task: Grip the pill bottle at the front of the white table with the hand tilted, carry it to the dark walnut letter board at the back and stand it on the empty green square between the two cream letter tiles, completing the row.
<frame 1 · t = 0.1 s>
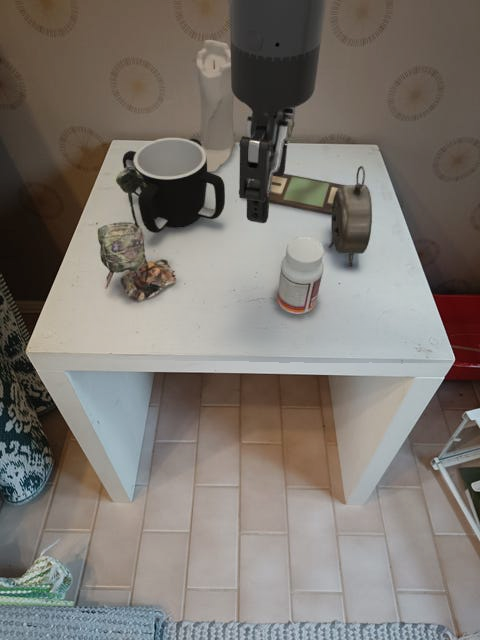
hand: (266, 195, 48), 23 cm above the table, tool pointing down, fingers open, 8 cm apart
candle: (214, 154, 93), on the table
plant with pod: (142, 283, 71), on the table
alarm clock: (340, 249, 76), on the table
pill bottle: (296, 301, 69), on the table
mug: (177, 214, 81), on the table
letter board: (306, 195, 85), on the table
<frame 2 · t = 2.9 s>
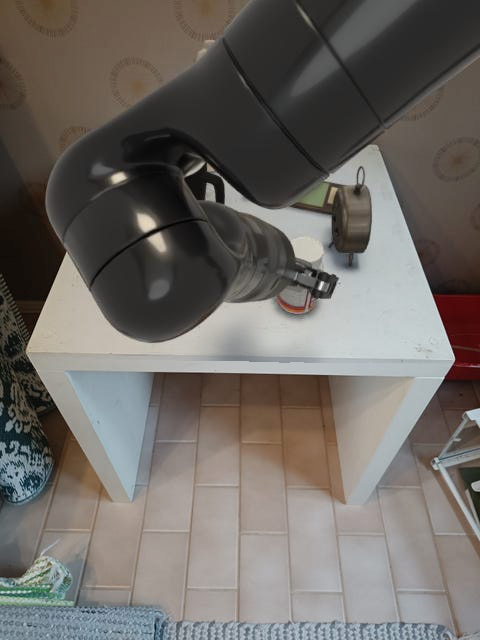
hand: (285, 267, 53), 15 cm above the table, tool tilted 45°, fingers open, 8 cm apart
nothing on the table moved.
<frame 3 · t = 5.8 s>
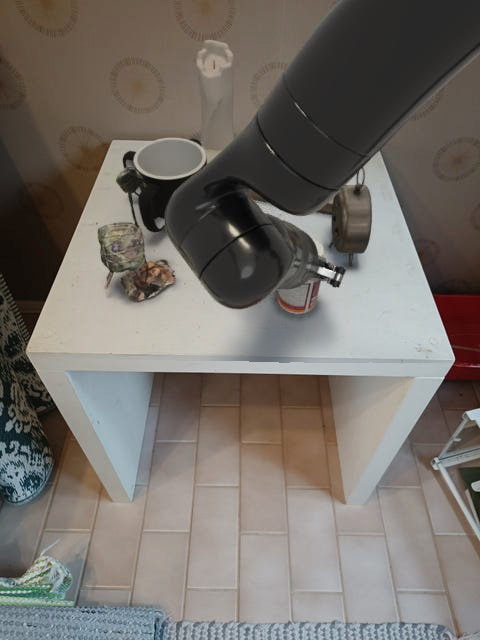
hand: (305, 263, 64), 7 cm above the table, tool tilted 45°, fingers closed on pill bottle, 6 cm apart
pill bottle: (296, 301, 69), on the table, touching gripper
everything else where it was.
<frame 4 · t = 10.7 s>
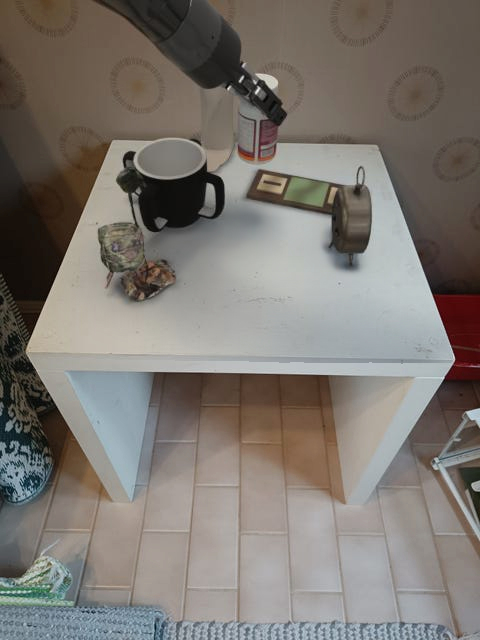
hand: (267, 109, 64), 21 cm above the table, tool tilted 45°, fingers closed on pill bottle, 6 cm apart
pill bottle: (256, 156, 69), point 14 cm above the table, touching gripper
everything else where it was.
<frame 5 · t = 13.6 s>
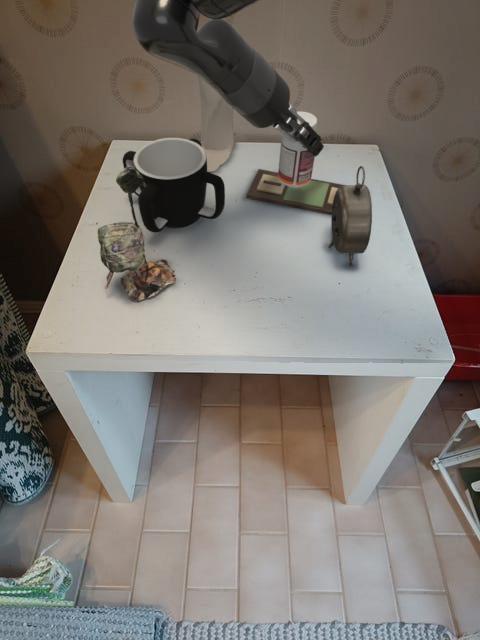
hand: (306, 141, 74), 12 cm above the table, tool tilted 45°, fingers closed on pill bottle, 6 cm apart
pill bottle: (294, 179, 79), point 5 cm above the table, touching gripper
everything else where it was.
when the fingers open (8 cm above the table, at t = 15.6 s): pill bottle stays where it is, resting on letter board.
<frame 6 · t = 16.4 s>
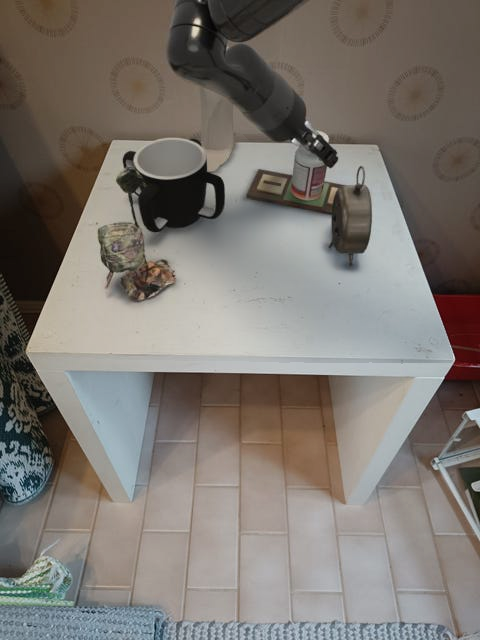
hand: (318, 151, 78), 9 cm above the table, tool tilted 45°, fingers open, 8 cm apart
pill bottle: (306, 192, 84), point 1 cm above the table, touching letter board
everything else where it was.
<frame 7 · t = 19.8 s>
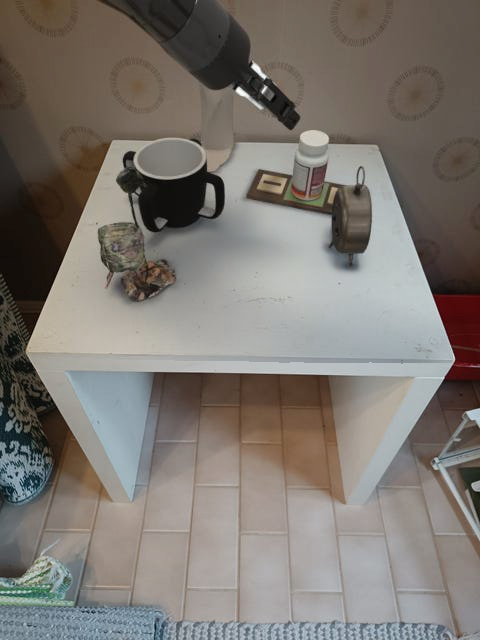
hand: (276, 110, 61), 22 cm above the table, tool tilted 45°, fingers open, 8 cm apart
nothing on the table moved.
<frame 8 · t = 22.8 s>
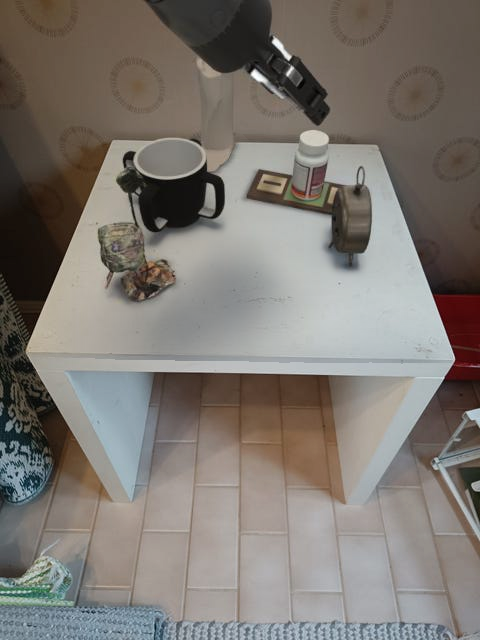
hand: (298, 101, 49), 29 cm above the table, tool tilted 45°, fingers open, 8 cm apart
nothing on the table moved.
at the end: pill bottle 0.2 cm off-centre on the letter board, point 0.7 cm above the letter board's base; pill bottle tilted 0°; the gripper is holding nothing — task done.
